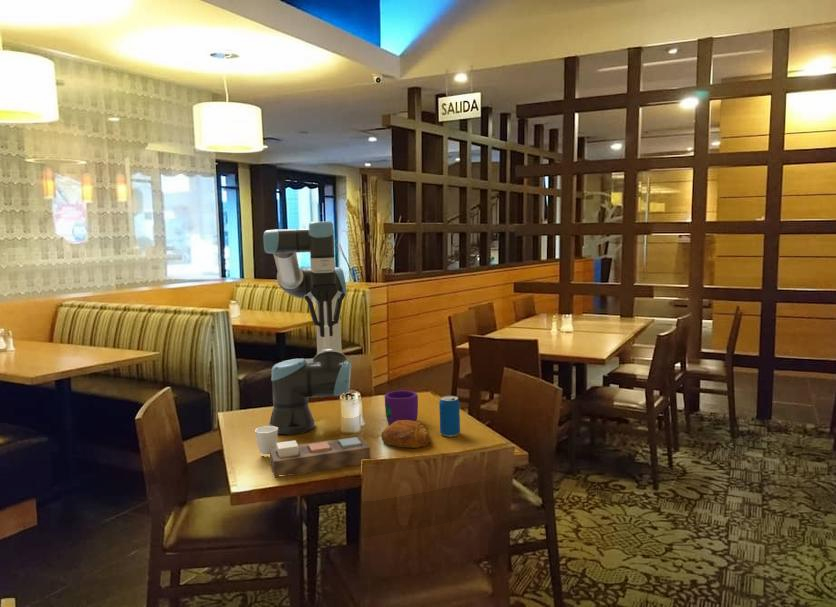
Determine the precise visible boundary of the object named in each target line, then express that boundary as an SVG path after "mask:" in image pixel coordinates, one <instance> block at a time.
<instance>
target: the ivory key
mask: <svg viewBox="0 0 836 607" xmlns="http://www.w3.org/2000/svg"><path fill="white" fill-rule="evenodd" d="M298 445H299V444H298V443H297V441H296V439H295V440H289V441H288V440H287V441H279V442H277V443H276V448H277V457H278V458H281V457H288V456H295V455H299V450H298Z"/></svg>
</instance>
